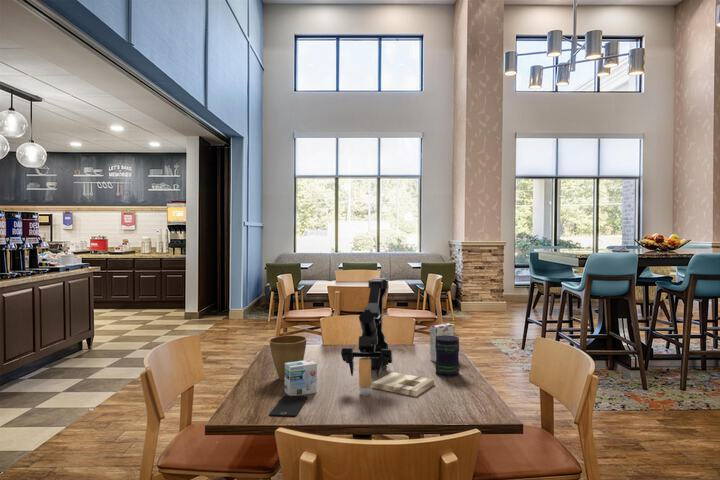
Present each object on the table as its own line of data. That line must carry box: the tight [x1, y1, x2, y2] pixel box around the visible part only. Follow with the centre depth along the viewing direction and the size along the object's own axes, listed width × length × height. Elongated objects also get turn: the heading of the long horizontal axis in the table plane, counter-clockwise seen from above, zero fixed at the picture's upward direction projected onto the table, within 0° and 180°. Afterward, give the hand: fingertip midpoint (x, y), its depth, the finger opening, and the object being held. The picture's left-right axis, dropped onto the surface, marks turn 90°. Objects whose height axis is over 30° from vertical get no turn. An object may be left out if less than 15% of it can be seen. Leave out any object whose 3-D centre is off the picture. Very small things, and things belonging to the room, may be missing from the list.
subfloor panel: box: [372, 371, 435, 397], centre depth 174 cm, size 18×16×2 cm
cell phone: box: [268, 394, 309, 418], centre depth 154 cm, size 9×18×1 cm, turn 174°
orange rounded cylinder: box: [358, 357, 372, 397], centre depth 166 cm, size 4×4×12 cm
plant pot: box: [268, 334, 307, 382], centre depth 184 cm, size 15×15×16 cm
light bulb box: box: [284, 359, 318, 396], centre depth 168 cm, size 11×7×11 cm, turn 118°
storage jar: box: [434, 335, 460, 378], centre depth 190 cm, size 10×10×15 cm
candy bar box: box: [429, 322, 455, 363], centre depth 211 cm, size 11×5×16 cm, turn 120°
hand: (364, 376), depth 164 cm, fingers open, 9 cm apart
